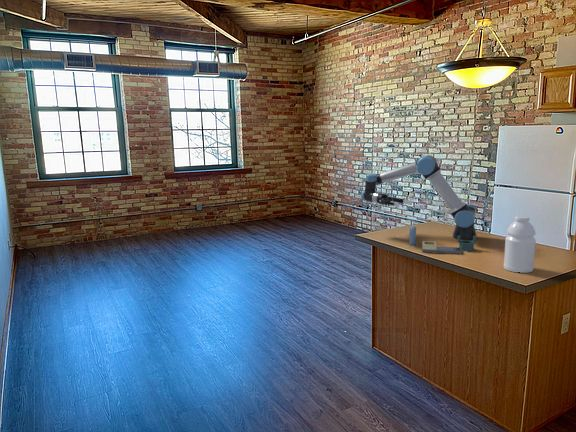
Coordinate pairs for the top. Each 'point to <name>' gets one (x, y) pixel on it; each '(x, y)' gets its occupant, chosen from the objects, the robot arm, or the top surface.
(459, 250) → the rail
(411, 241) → the peg
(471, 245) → the bracket
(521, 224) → the bottle
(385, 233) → the top surface
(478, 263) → the top surface
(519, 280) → the top surface
